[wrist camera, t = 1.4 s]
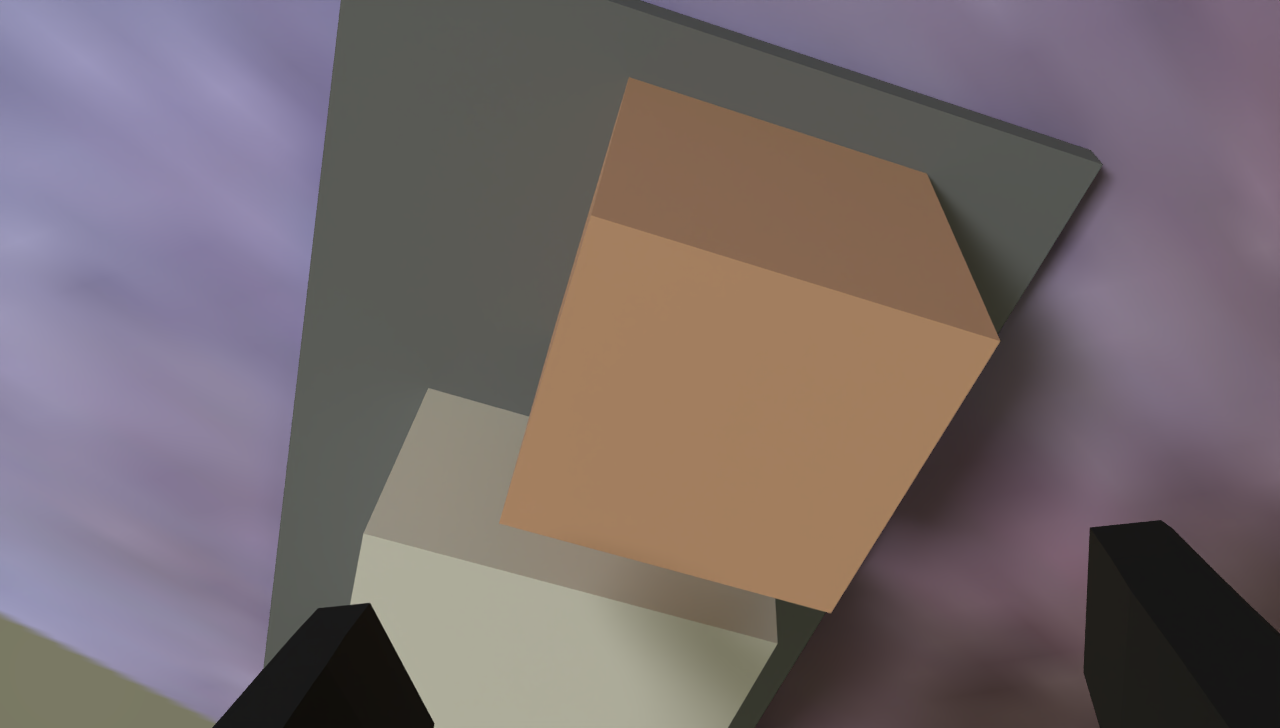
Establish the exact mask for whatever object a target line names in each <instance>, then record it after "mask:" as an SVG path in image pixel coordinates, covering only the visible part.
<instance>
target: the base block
mask: <svg viewBox="0 0 1280 728" xmlns="http://www.w3.org/2000/svg"><path fill="white" fill-rule="evenodd" d="M528 419H529V416H525V415H522V414H518V413H515V412H511V411H508V410H504V409H501V408H497V407H493V406H490V405H486V404H483V403H479V402H476V401H472V400H469V399H465V398H462V397H458V396H455V395H451V394H448V393H444V392H441V391H437V390H433V389H430V388H428V390H427V392H426V394H425V397H424V399H423V401H422V403H421V406H420V408H419V410H418V412H417V415H416V417H415V419H414V421H413V423H412V426H411V428H410V430H409V432H408V435H407V437H406V439H405V441H404V444H403V446H402V448H401V450H400V453H399V455H398V457H397V459H396V462H395V464H394V466H393V468H392V471H391V473H390V475H389V477H388V479H387V482H386V484H385V486H384V488H383V491H382V493H381V495H380V497H379V500H378V502H377V504H376V506H375V509H374V511H373V513H372V515H371V518H370V520H369V522H368V524H367V527H366V529H365V531H364V533H363V538H362V544H361V549H360V554H359V560H358V565H357V570H356V576H355V581H354V586H353V592H352V597H351V602H350V605H353V604H363V603H371V605H372V607H373V609H374V611H375V613H376V615H377V617H378V618H379V620H380V622H381V624H382V626H383V628H384V630H385V632H386V633H387V635H388V637H389V639H390V641H391V643H392V645H393V647H394V648H395V650H396V652H397V654H398V656H399V658H400V660H401V661H402V663H403V665H404V667H405V669H406V671H407V673H408V675H409V676H410V678H411V680H412V682H413V684H414V686H415V688H416V690H417V691H418V693H419V695H420V697H421V699H422V701H423V703H424V705H425V706H426V708H427V710H428V712H429V714H430V716H431V718H432V720H433V721H434V728H728V727H729V725H730V723H731V722H732V720H733V718H734V717H735V715H736V713H737V711H738V710H739V708H740V706H741V705H742V703H743V701H744V700H745V698H746V696H747V695H748V693H749V691H750V690H751V688H752V686H753V684H754V683H755V681H756V679H757V678H758V676H759V674H760V673H761V671H762V669H763V668H764V666H765V664H766V662H767V661H768V659H769V657H770V656H771V654H772V652H773V651H774V649H775V647H776V646H777V644H778V641H777V623H776V604H775V598H773V597H769V596H765V595H761V594H758V593H754V592H750V591H747V590H743V589H739V588H736V587H732V586H728V585H724V584H721V583H717V582H713V581H710V580H706V579H702V578H699V577H695V576H691V575H688V574H684V573H680V572H676V571H673V570H669V569H665V568H662V567H658V566H654V565H651V564H647V563H643V562H640V561H636V560H632V559H628V558H625V557H621V556H617V555H614V554H610V553H606V552H603V551H599V550H595V549H592V548H588V547H584V546H580V545H577V544H573V543H569V542H566V541H562V540H558V539H555V538H551V537H547V536H543V535H540V534H536V533H532V532H529V531H525V530H521V529H518V528H514V527H510V526H507V525H503V524H499V522H500V518H501V515H502V511H503V508H504V504H505V500H506V497H507V493H508V490H509V486H510V483H511V479H512V476H513V472H514V469H515V465H516V462H517V458H518V455H519V451H520V448H521V444H522V441H523V437H524V433H525V430H526V426H527V423H528Z"/></svg>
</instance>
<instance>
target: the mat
mask: <svg viewBox="0 0 1280 728" xmlns="http://www.w3.org/2000/svg"><path fill="white" fill-rule="evenodd" d="M629 77H630V78H633V79H636V80H639V81H643V82H646V83H649V84H652V85H655V86H658V87H661V88H664V89H667V90H670V91H673V92H676V93H680V94H683V95H686V96H689V97H692V98H695V99H698V100H701V101H704V102H707V103H710V104H714V105H717V106H720V107H723V108H726V109H729V110H732V111H735V112H738V113H741V114H744V115H747V116H751V117H754V118H757V119H760V120H763V121H766V122H769V123H772V124H775V125H778V126H781V127H784V128H788V129H791V130H794V131H797V132H800V133H803V134H806V135H809V136H812V137H815V138H818V139H822V140H825V141H828V142H831V143H834V144H837V145H840V146H843V147H846V148H849V149H852V150H855V151H859V152H862V153H865V154H868V155H871V156H874V157H877V158H880V159H883V160H886V161H889V162H893V163H896V164H899V165H902V166H905V167H908V168H911V169H914V170H917V171H920V172H923V173H926V174H927V175H928V177H929V180H930V182H931V184H932V186H933V189H934V191H935V193H936V195H937V198H938V200H939V202H940V205H941V207H942V209H943V211H944V214H945V216H946V218H947V221H948V223H949V225H950V227H951V230H952V232H953V234H954V237H955V239H956V241H957V243H958V246H959V248H960V250H961V252H962V255H963V257H964V259H965V262H966V264H967V266H968V268H969V271H970V273H971V275H972V278H973V280H974V282H975V284H976V287H977V289H978V291H979V293H980V296H981V298H982V300H983V303H984V305H985V307H986V309H987V312H988V314H989V316H990V319H991V321H992V323H993V325H994V328H995V330H996V332H997V335H998V333H999V331H1000V330H1001V328H1002V327H1003V325H1004V323H1005V322H1006V320H1007V319H1008V317H1009V315H1010V314H1011V312H1012V310H1013V309H1014V307H1015V306H1016V304H1017V302H1018V301H1019V299H1020V298H1021V296H1022V294H1023V293H1024V291H1025V289H1026V288H1027V286H1028V285H1029V283H1030V281H1031V280H1032V278H1033V276H1034V275H1035V273H1036V272H1037V270H1038V268H1039V267H1040V265H1041V264H1042V262H1043V260H1044V259H1045V257H1046V255H1047V254H1048V252H1049V251H1050V249H1051V247H1052V246H1053V244H1054V242H1055V241H1056V239H1057V238H1058V236H1059V234H1060V233H1061V231H1062V230H1063V228H1064V226H1065V225H1066V223H1067V221H1068V220H1069V218H1070V217H1071V215H1072V213H1073V212H1074V210H1075V209H1076V207H1077V205H1078V204H1079V202H1080V200H1081V199H1082V197H1083V196H1084V194H1085V192H1086V191H1087V189H1088V187H1089V186H1090V184H1091V183H1092V181H1093V179H1094V178H1095V176H1096V175H1097V173H1098V171H1099V170H1100V168H1101V166H1102V165H1103V164H1102V163H1101V162H1100V161H1099V160H1098V158H1097V157H1096V156H1095V155H1094V154H1093V152H1092V151H1091V150H1088V149H1085V148H1082V147H1079V146H1076V145H1073V144H1070V143H1067V142H1064V141H1061V140H1058V139H1055V138H1052V137H1049V136H1046V135H1043V134H1040V133H1037V132H1034V131H1031V130H1028V129H1025V128H1022V127H1019V126H1016V125H1013V124H1010V123H1007V122H1004V121H1001V120H998V119H995V118H992V117H989V116H986V115H983V114H980V113H977V112H974V111H971V110H968V109H965V108H962V107H959V106H956V105H953V104H950V103H947V102H944V101H941V100H938V99H935V98H932V97H929V96H926V95H923V94H920V93H917V92H914V91H911V90H908V89H905V88H902V87H899V86H896V85H893V84H890V83H887V82H884V81H881V80H878V79H875V78H872V77H869V76H866V75H863V74H860V73H857V72H854V71H851V70H848V69H845V68H842V67H839V66H836V65H833V64H830V63H827V62H824V61H821V60H818V59H815V58H812V57H809V56H806V55H803V54H800V53H797V52H794V51H791V50H788V49H785V48H782V47H779V46H776V45H773V44H770V43H767V42H764V41H761V40H758V39H755V38H752V37H749V36H746V35H743V34H740V33H737V32H734V31H731V30H728V29H725V28H722V27H719V26H716V25H713V24H710V23H707V22H704V21H701V20H698V19H695V18H692V17H689V16H686V15H683V14H680V13H677V12H674V11H671V10H668V9H665V8H662V7H659V6H656V5H653V4H650V3H647V2H644V1H641V0H341V4H340V13H339V21H338V30H337V39H336V47H335V56H334V65H333V73H332V82H331V91H330V99H329V108H328V116H327V125H326V134H325V142H324V151H323V160H322V168H321V177H320V186H319V194H318V203H317V211H316V220H315V229H314V237H313V246H312V255H311V263H310V272H309V281H308V289H307V298H306V306H305V315H304V324H303V332H302V341H301V350H300V358H299V367H298V375H297V384H296V393H295V401H294V410H293V419H292V427H291V436H290V445H289V453H288V462H287V470H286V479H285V488H284V496H283V505H282V514H281V522H280V531H279V540H278V548H277V557H276V565H275V574H274V583H273V591H272V600H271V609H270V617H269V626H268V634H267V643H266V652H265V660H264V668H265V667H266V665H267V664H268V663H269V662H270V661H271V660H272V659H273V657H274V656H275V655H276V654H277V653H278V652H279V650H280V649H281V648H282V647H283V646H284V645H285V644H286V643H287V641H288V640H289V639H290V638H291V637H292V636H293V635H294V634H295V632H296V631H297V630H298V629H299V628H300V627H301V626H302V625H303V624H304V623H305V622H306V620H307V619H308V618H309V617H310V616H311V615H312V614H313V613H314V612H315V611H316V610H317V609H318V608H324V607H334V606H343V605H350V602H351V597H352V592H353V586H354V581H355V576H356V570H357V565H358V560H359V554H360V549H361V544H362V538H363V533H364V531H365V529H366V527H367V524H368V522H369V520H370V518H371V515H372V513H373V511H374V509H375V506H376V504H377V502H378V500H379V497H380V495H381V493H382V491H383V488H384V486H385V484H386V482H387V479H388V477H389V475H390V473H391V471H392V468H393V466H394V464H395V462H396V459H397V457H398V455H399V453H400V450H401V448H402V446H403V444H404V441H405V439H406V437H407V435H408V432H409V430H410V428H411V426H412V423H413V421H414V419H415V417H416V415H417V412H418V410H419V408H420V406H421V403H422V401H423V399H424V397H425V394H426V392H427V390H428V388H430V389H433V390H437V391H441V392H444V393H448V394H451V395H455V396H458V397H462V398H465V399H469V400H472V401H476V402H479V403H483V404H486V405H490V406H493V407H497V408H501V409H504V410H508V411H511V412H515V413H518V414H522V415H525V416H530V412H531V409H532V405H533V402H534V398H535V395H536V391H537V388H538V384H539V381H540V377H541V374H542V370H543V366H544V363H545V359H546V356H547V352H548V349H549V345H550V342H551V338H552V335H553V331H554V328H555V325H556V321H557V318H558V314H559V311H560V308H561V304H562V301H563V298H564V294H565V291H566V288H567V284H568V281H569V277H570V274H571V271H572V267H573V264H574V261H575V257H576V254H577V250H578V247H579V244H580V240H581V237H582V234H583V230H584V227H585V223H586V220H587V217H588V213H589V210H590V207H591V203H592V200H593V196H594V193H595V190H596V186H597V183H598V180H599V176H600V173H601V170H602V166H603V163H604V159H605V156H606V153H607V149H608V146H609V143H610V139H611V136H612V132H613V129H614V126H615V122H616V119H617V116H618V112H619V109H620V105H621V102H622V99H623V95H624V92H625V89H626V85H627V82H628V79H629ZM775 604H776V623H777V641H778V644H777V646H776V647H775V649H774V651H773V652H772V654H771V656H770V657H769V659H768V661H767V662H766V664H765V666H764V668H763V669H762V671H761V673H760V674H759V676H758V678H757V679H756V681H755V683H754V684H753V686H752V688H751V690H750V691H749V693H748V695H747V696H746V698H745V700H744V701H743V703H742V705H741V706H740V708H739V710H738V711H737V713H736V715H735V717H734V718H733V720H732V722H731V723H730V725H729V727H728V728H755V726H756V725H757V723H758V721H759V720H760V718H761V717H762V715H763V713H764V712H765V710H766V708H767V707H768V705H769V704H770V702H771V700H772V699H773V697H774V695H775V694H776V692H777V691H778V689H779V687H780V686H781V684H782V683H783V681H784V679H785V678H786V676H787V674H788V673H789V671H790V670H791V668H792V666H793V665H794V663H795V661H796V660H797V658H798V657H799V655H800V653H801V652H802V650H803V649H804V647H805V645H806V644H807V642H808V640H809V639H810V637H811V636H812V634H813V632H814V631H815V629H816V628H817V626H818V624H819V623H820V621H821V619H822V618H823V616H824V615H825V613H826V612H824V611H821V610H817V609H813V608H809V607H806V606H802V605H798V604H795V603H791V602H787V601H784V600H780V599H776V598H775Z"/></svg>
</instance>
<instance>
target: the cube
mask: <svg viewBox="0 0 1280 728" xmlns="http://www.w3.org/2000/svg"><path fill="white" fill-rule="evenodd" d="M999 343H1000V339H999V337H998V335H997V332H996V330H995V328H994V325H993V323H992V321H991V319H990V316H989V314H988V312H987V309H986V307H985V305H984V303H983V300H982V298H981V296H980V293H979V291H978V289H977V287H976V284H975V282H974V280H973V278H972V275H971V273H970V271H969V268H968V266H967V264H966V262H965V259H964V257H963V255H962V252H961V250H960V248H959V246H958V243H957V241H956V239H955V237H954V234H953V232H952V230H951V227H950V225H949V223H948V221H947V218H946V216H945V214H944V211H943V209H942V207H941V205H940V202H939V200H938V198H937V195H936V193H935V191H934V189H933V186H932V184H931V182H930V180H929V177H928V175H927V174H926V173H923V172H920V171H917V170H914V169H911V168H908V167H905V166H902V165H899V164H896V163H893V162H889V161H886V160H883V159H880V158H877V157H874V156H871V155H868V154H865V153H862V152H859V151H855V150H852V149H849V148H846V147H843V146H840V145H837V144H834V143H831V142H828V141H825V140H822V139H818V138H815V137H812V136H809V135H806V134H803V133H800V132H797V131H794V130H791V129H788V128H784V127H781V126H778V125H775V124H772V123H769V122H766V121H763V120H760V119H757V118H754V117H751V116H747V115H744V114H741V113H738V112H735V111H732V110H729V109H726V108H723V107H720V106H717V105H714V104H710V103H707V102H704V101H701V100H698V99H695V98H692V97H689V96H686V95H683V94H680V93H676V92H673V91H670V90H667V89H664V88H661V87H658V86H655V85H652V84H649V83H646V82H643V81H639V80H636V79H633V78H630V77H629V79H628V82H627V85H626V89H625V92H624V95H623V99H622V102H621V105H620V109H619V112H618V116H617V119H616V122H615V126H614V129H613V132H612V136H611V139H610V143H609V146H608V149H607V153H606V156H605V159H604V163H603V166H602V170H601V173H600V176H599V180H598V183H597V186H596V190H595V193H594V196H593V200H592V203H591V207H590V210H589V213H588V217H587V220H586V223H585V227H584V230H583V234H582V237H581V240H580V244H579V247H578V250H577V254H576V257H575V261H574V264H573V267H572V271H571V274H570V277H569V281H568V284H567V288H566V291H565V294H564V298H563V301H562V304H561V308H560V311H559V314H558V318H557V321H556V325H555V328H554V331H553V335H552V338H551V342H550V345H549V349H548V352H547V356H546V359H545V363H544V366H543V370H542V374H541V377H540V381H539V384H538V388H537V391H536V395H535V398H534V402H533V405H532V409H531V412H530V416H529V419H528V423H527V426H526V430H525V433H524V437H523V441H522V444H521V448H520V451H519V455H518V458H517V462H516V465H515V469H514V472H513V476H512V479H511V483H510V486H509V490H508V493H507V497H506V500H505V504H504V508H503V511H502V515H501V518H500V522H499V524H503V525H507V526H510V527H514V528H518V529H521V530H525V531H529V532H532V533H536V534H540V535H543V536H547V537H551V538H555V539H558V540H562V541H566V542H569V543H573V544H577V545H580V546H584V547H588V548H592V549H595V550H599V551H603V552H606V553H610V554H614V555H617V556H621V557H625V558H628V559H632V560H636V561H640V562H643V563H647V564H651V565H654V566H658V567H662V568H665V569H669V570H673V571H676V572H680V573H684V574H688V575H691V576H695V577H699V578H702V579H706V580H710V581H713V582H717V583H721V584H724V585H728V586H732V587H736V588H739V589H743V590H747V591H750V592H754V593H758V594H761V595H765V596H769V597H773V598H776V599H780V600H784V601H787V602H791V603H795V604H798V605H802V606H806V607H809V608H813V609H817V610H821V611H824V612H828V613H831V612H832V611H833V609H834V607H835V606H836V604H837V603H838V601H839V599H840V598H841V596H842V595H843V593H844V591H845V590H846V588H847V587H848V585H849V583H850V582H851V580H852V579H853V577H854V575H855V574H856V572H857V571H858V569H859V567H860V566H861V564H862V562H863V561H864V559H865V558H866V556H867V554H868V553H869V551H870V550H871V548H872V546H873V545H874V543H875V542H876V540H877V538H878V537H879V535H880V534H881V532H882V530H883V529H884V527H885V526H886V524H887V522H888V521H889V519H890V518H891V516H892V514H893V513H894V511H895V510H896V508H897V506H898V505H899V503H900V502H901V500H902V498H903V497H904V495H905V493H906V492H907V490H908V489H909V487H910V485H911V484H912V482H913V481H914V479H915V477H916V476H917V474H918V473H919V471H920V469H921V468H922V466H923V465H924V463H925V461H926V460H927V458H928V457H929V455H930V453H931V452H932V450H933V449H934V447H935V445H936V444H937V442H938V441H939V439H940V437H941V436H942V434H943V433H944V431H945V429H946V428H947V426H948V424H949V423H950V421H951V420H952V418H953V416H954V415H955V413H956V412H957V410H958V408H959V407H960V405H961V404H962V402H963V400H964V399H965V397H966V396H967V394H968V392H969V391H970V389H971V388H972V386H973V384H974V383H975V381H976V380H977V378H978V376H979V375H980V373H981V372H982V370H983V368H984V367H985V365H986V364H987V362H988V360H989V359H990V357H991V355H992V354H993V352H994V351H995V349H996V347H997V346H998V344H999Z"/></svg>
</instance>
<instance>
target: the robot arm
mask: <svg viewBox="0 0 1280 728" xmlns="http://www.w3.org/2000/svg"><path fill="white" fill-rule="evenodd" d="M1084 675H1085V679H1086V682H1087V685H1088V689H1089V692H1090V696H1091V699H1092V702H1093V706H1094V709H1095V713H1096V716H1097V719H1098V723H1099V726H1100V728H1280V633H1279V632H1278V631H1276V630H1275V629H1274V628H1273V627H1272V626H1271V625H1270V624H1269V623H1268V622H1267V621H1266V620H1265V619H1264V618H1263V617H1262V616H1261V615H1260V614H1259V613H1258V612H1256V611H1255V610H1254V609H1253V608H1252V607H1251V606H1250V605H1249V604H1248V603H1247V602H1246V601H1245V600H1244V599H1243V598H1242V597H1241V596H1240V595H1239V594H1238V593H1237V592H1236V591H1235V590H1234V589H1233V588H1232V587H1231V586H1230V585H1229V584H1228V583H1226V582H1225V581H1224V580H1223V579H1222V578H1221V577H1220V576H1219V575H1218V574H1217V573H1216V572H1215V571H1214V570H1213V569H1212V568H1211V567H1210V566H1209V565H1208V564H1207V563H1206V562H1205V561H1204V560H1203V559H1202V558H1201V557H1200V556H1199V555H1198V554H1197V553H1196V552H1195V551H1194V550H1193V549H1192V548H1191V547H1190V546H1189V545H1188V544H1187V543H1186V542H1185V541H1184V540H1183V539H1182V538H1181V537H1180V536H1179V535H1178V534H1177V533H1176V532H1175V531H1174V530H1173V529H1172V528H1171V527H1170V526H1168V525H1167V524H1165V523H1164V522H1163V521H1161V520H1158V521H1148V522H1139V523H1129V524H1120V525H1110V526H1101V527H1091V528H1090V537H1089V560H1088V583H1087V606H1086V629H1085V651H1084ZM213 728H434V721H433V720H432V718H431V716H430V714H429V712H428V710H427V708H426V706H425V705H424V703H423V701H422V699H421V697H420V695H419V693H418V691H417V690H416V688H415V686H414V684H413V682H412V680H411V678H410V676H409V675H408V673H407V671H406V669H405V667H404V665H403V663H402V661H401V660H400V658H399V656H398V654H397V652H396V650H395V648H394V647H393V645H392V643H391V641H390V639H389V637H388V635H387V633H386V632H385V630H384V628H383V626H382V624H381V622H380V620H379V618H378V617H377V615H376V613H375V611H374V609H373V607H372V605H371V603H363V604H353V605H343V606H334V607H324V608H318V609H317V610H316V611H315V612H314V613H313V614H312V615H311V616H310V617H309V618H308V619H307V620H306V622H305V623H304V624H303V625H302V626H301V627H300V628H299V629H298V630H297V631H296V632H295V634H294V635H293V636H292V637H291V638H290V639H289V640H288V641H287V643H286V644H285V645H284V646H283V647H282V648H281V649H280V650H279V652H278V653H277V654H276V655H275V656H274V657H273V659H272V660H271V661H270V662H269V663H268V664H267V665H266V667H265V668H264V669H263V670H262V671H261V672H260V673H259V675H258V676H257V677H256V678H255V679H254V680H253V682H252V683H251V684H250V685H249V686H248V687H247V689H246V690H245V691H244V692H243V693H242V694H241V695H240V697H239V698H238V699H237V700H236V701H235V702H234V704H233V705H232V706H231V707H230V708H229V709H228V710H227V712H226V713H225V714H224V715H223V716H222V717H221V719H220V720H219V721H218V722H217V723H216V724H215V725H214V726H213Z"/></svg>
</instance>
